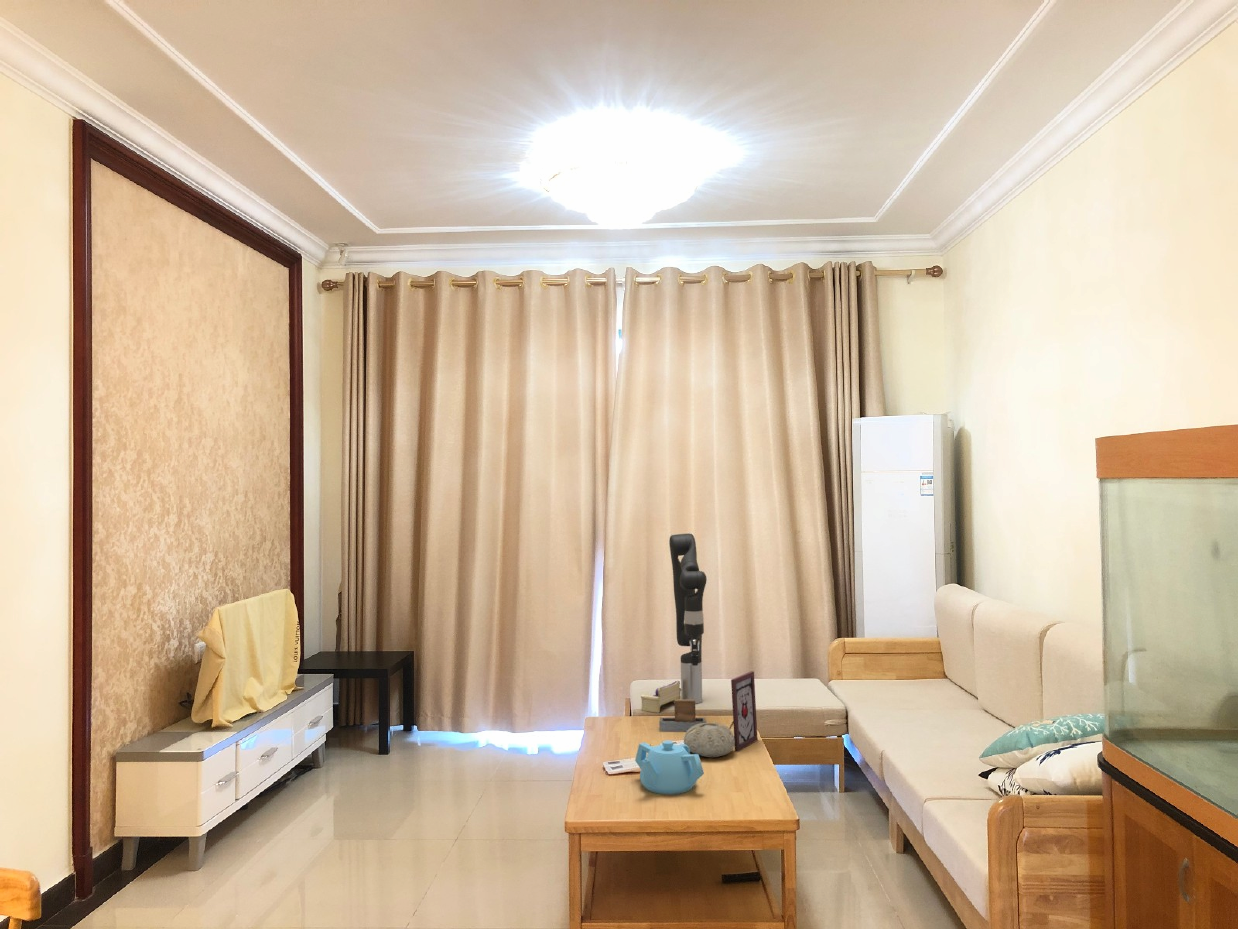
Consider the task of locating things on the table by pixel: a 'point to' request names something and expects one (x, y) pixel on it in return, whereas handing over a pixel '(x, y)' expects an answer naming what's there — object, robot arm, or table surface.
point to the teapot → (668, 767)
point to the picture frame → (744, 710)
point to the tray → (677, 724)
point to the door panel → (685, 710)
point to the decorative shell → (709, 739)
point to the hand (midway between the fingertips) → (695, 663)
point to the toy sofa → (661, 697)
